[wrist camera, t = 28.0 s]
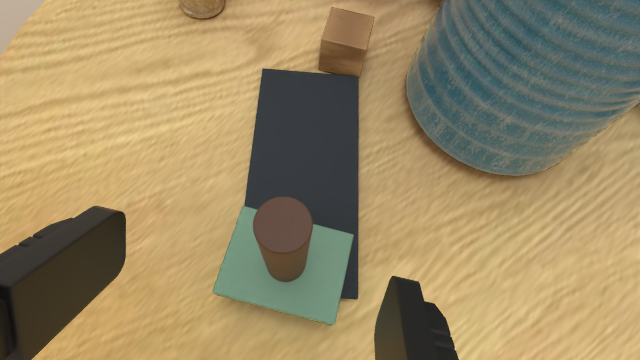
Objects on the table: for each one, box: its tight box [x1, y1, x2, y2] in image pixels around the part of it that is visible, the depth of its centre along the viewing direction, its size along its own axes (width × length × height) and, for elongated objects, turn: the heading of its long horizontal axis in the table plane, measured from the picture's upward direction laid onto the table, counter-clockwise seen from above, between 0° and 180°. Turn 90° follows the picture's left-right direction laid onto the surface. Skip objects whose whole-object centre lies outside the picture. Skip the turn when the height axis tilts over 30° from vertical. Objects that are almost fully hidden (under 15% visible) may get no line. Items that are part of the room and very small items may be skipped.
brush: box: [213, 196, 354, 325], centre depth 21 cm, size 8×6×12 cm
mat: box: [245, 69, 358, 299], centre depth 30 cm, size 9×20×1 cm, turn 177°
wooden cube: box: [318, 7, 374, 79], centre depth 34 cm, size 4×4×4 cm
